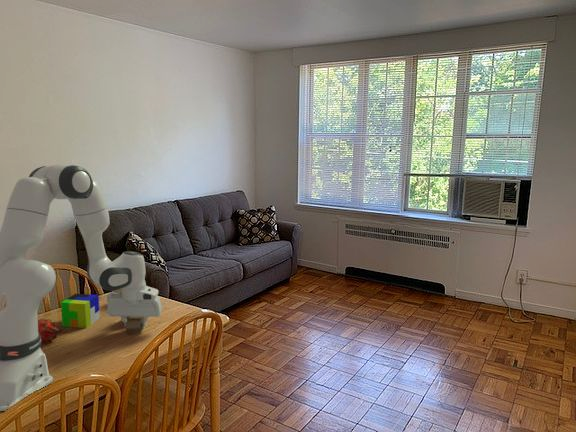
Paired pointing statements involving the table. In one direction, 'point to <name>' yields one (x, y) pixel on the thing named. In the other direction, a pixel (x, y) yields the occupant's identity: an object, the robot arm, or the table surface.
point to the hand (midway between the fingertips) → (135, 326)
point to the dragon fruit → (47, 330)
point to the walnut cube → (134, 325)
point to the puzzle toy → (80, 310)
